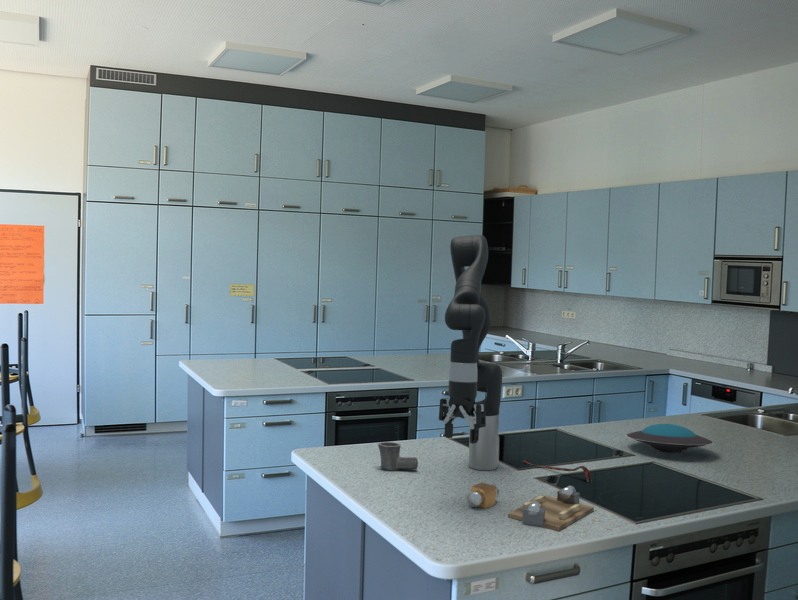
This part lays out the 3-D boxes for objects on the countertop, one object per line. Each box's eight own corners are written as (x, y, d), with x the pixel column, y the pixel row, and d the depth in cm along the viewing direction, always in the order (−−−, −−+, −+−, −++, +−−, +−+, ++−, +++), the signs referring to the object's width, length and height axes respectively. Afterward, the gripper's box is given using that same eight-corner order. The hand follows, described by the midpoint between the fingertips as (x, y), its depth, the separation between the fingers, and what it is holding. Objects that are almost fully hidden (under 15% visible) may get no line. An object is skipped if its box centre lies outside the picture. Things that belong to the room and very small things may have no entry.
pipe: (415, 474, 210) (416, 448, 210) (374, 470, 213) (375, 445, 212) (418, 468, 216) (419, 443, 216) (379, 465, 219) (379, 440, 218)
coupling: (486, 498, 189) (486, 480, 189) (500, 502, 186) (500, 483, 186) (465, 507, 181) (466, 488, 181) (479, 511, 178) (480, 492, 178)
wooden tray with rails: (545, 498, 189) (545, 489, 189) (593, 510, 180) (593, 501, 180) (508, 517, 174) (508, 507, 174) (558, 531, 165) (558, 520, 165)
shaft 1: (525, 518, 173) (525, 499, 173) (545, 521, 171) (545, 502, 171) (522, 524, 169) (523, 504, 169) (543, 526, 168) (543, 507, 167)
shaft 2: (562, 501, 187) (562, 483, 187) (579, 505, 184) (579, 487, 184) (555, 505, 184) (555, 487, 184) (572, 509, 181) (573, 491, 181)
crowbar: (592, 483, 206) (591, 466, 206) (587, 484, 205) (586, 467, 205) (527, 474, 226) (526, 458, 227) (522, 475, 225) (521, 460, 225)
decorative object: (718, 450, 250) (719, 422, 250) (705, 467, 226) (706, 437, 225) (635, 438, 266) (636, 412, 265) (615, 453, 241) (616, 425, 241)
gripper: (493, 381, 179) (491, 443, 179) (452, 375, 189) (450, 434, 189) (474, 383, 174) (472, 446, 174) (433, 377, 184) (431, 437, 184)
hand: (461, 440), depth 182 cm, fingers open, 8 cm apart
